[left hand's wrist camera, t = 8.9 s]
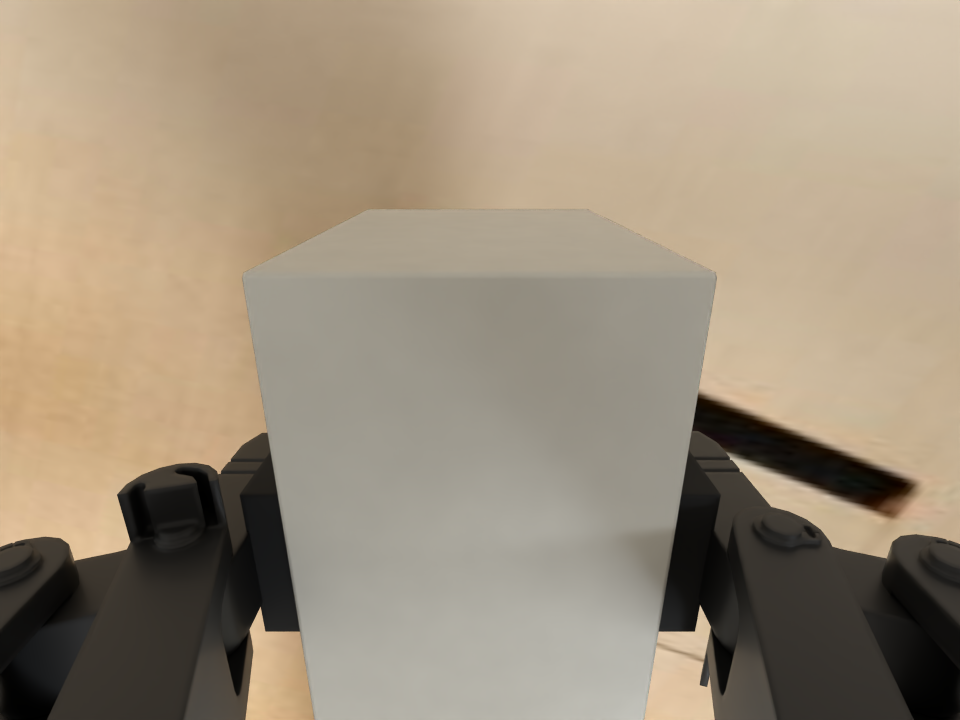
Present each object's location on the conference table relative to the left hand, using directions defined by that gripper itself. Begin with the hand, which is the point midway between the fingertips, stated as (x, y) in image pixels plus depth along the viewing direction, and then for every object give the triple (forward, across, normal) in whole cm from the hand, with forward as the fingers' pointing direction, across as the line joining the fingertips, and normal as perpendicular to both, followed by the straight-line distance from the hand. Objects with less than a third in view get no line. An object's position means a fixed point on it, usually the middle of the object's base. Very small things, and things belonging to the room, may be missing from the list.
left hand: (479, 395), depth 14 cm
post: (+1, 0, -35) cm, 35 cm away
